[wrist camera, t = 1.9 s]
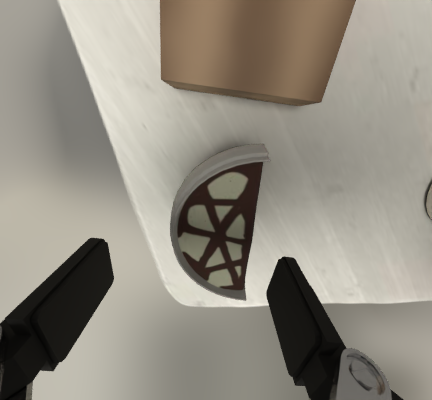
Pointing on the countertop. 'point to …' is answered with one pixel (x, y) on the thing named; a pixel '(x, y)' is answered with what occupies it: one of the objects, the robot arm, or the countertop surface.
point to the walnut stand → (252, 47)
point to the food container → (218, 219)
